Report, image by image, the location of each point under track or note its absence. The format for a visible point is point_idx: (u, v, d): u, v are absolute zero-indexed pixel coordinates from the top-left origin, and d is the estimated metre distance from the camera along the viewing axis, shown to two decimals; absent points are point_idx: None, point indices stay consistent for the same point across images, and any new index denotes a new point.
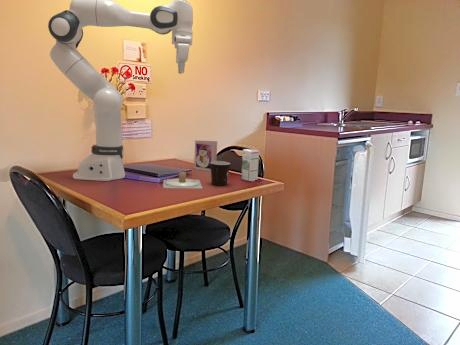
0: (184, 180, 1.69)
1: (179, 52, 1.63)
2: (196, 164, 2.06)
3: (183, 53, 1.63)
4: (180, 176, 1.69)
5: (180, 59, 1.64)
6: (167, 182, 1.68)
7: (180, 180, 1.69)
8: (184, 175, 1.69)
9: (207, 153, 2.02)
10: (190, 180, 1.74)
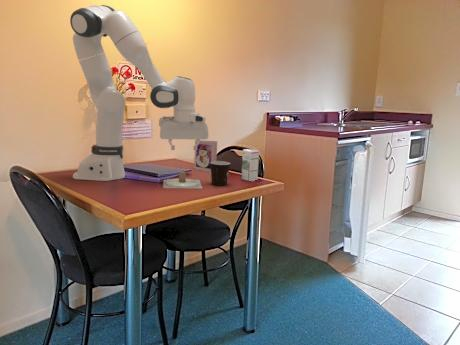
0: (184, 180, 1.69)
1: None
2: (196, 164, 2.06)
3: None
4: (180, 176, 1.69)
5: (207, 138, 1.67)
6: (167, 182, 1.68)
7: (180, 180, 1.69)
8: (184, 175, 1.69)
9: (207, 153, 2.02)
10: (190, 180, 1.74)
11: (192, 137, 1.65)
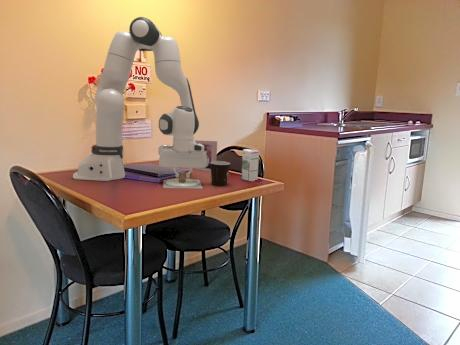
0: (184, 180, 1.69)
1: None
2: None
3: None
4: (180, 176, 1.69)
5: (205, 166, 1.70)
6: (167, 182, 1.68)
7: (180, 180, 1.69)
8: (184, 175, 1.69)
9: (207, 153, 2.02)
10: (190, 180, 1.74)
11: (190, 166, 1.68)
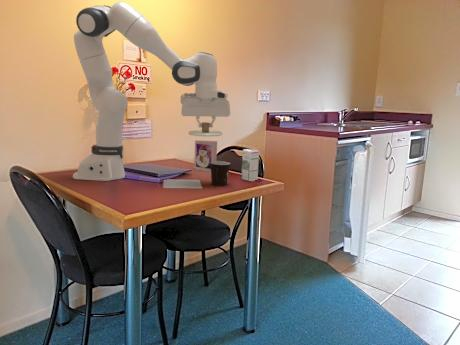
0: (207, 130, 1.65)
1: (229, 108, 1.64)
2: (196, 164, 2.06)
3: None
4: (203, 126, 1.65)
5: None
6: (190, 132, 1.64)
7: (203, 130, 1.65)
8: (207, 125, 1.65)
9: (207, 153, 2.02)
10: (213, 131, 1.70)
11: (214, 114, 1.63)
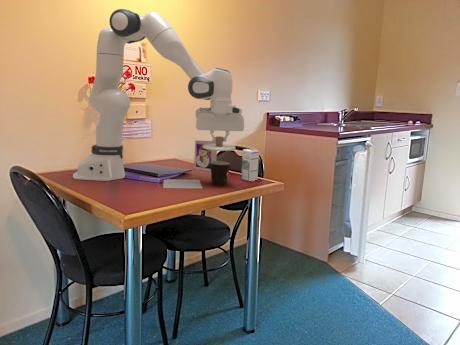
0: (221, 144, 1.68)
1: (243, 123, 1.67)
2: (196, 164, 2.06)
3: None
4: (217, 140, 1.67)
5: (242, 130, 1.68)
6: (204, 146, 1.66)
7: (217, 144, 1.68)
8: (221, 139, 1.67)
9: (207, 153, 2.02)
10: (226, 145, 1.72)
11: (228, 129, 1.66)
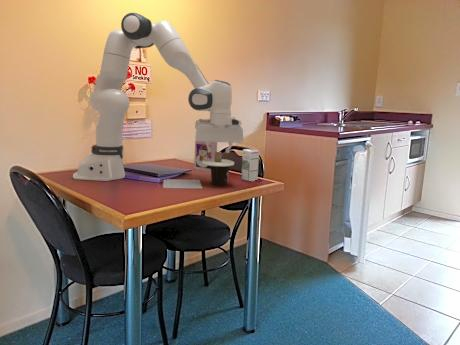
0: (220, 160, 1.69)
1: None
2: (196, 164, 2.06)
3: None
4: (216, 155, 1.68)
5: None
6: (203, 161, 1.68)
7: (216, 160, 1.69)
8: (220, 154, 1.69)
9: (207, 153, 2.02)
10: (225, 160, 1.74)
11: (227, 140, 1.67)
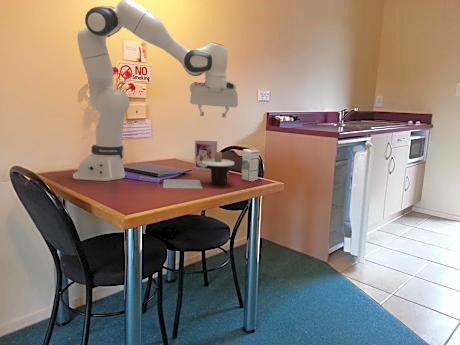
0: (220, 160, 1.69)
1: (237, 100, 1.68)
2: (196, 164, 2.06)
3: None
4: (216, 155, 1.68)
5: (236, 106, 1.69)
6: (203, 161, 1.68)
7: (216, 160, 1.69)
8: (220, 154, 1.69)
9: (207, 153, 2.02)
10: (225, 160, 1.74)
11: (222, 104, 1.67)
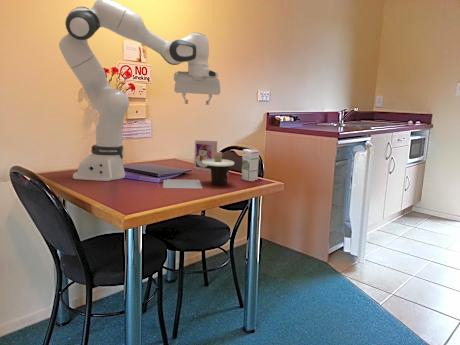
0: (220, 160, 1.69)
1: None
2: (196, 164, 2.06)
3: None
4: (216, 155, 1.68)
5: (219, 93, 1.76)
6: (203, 161, 1.68)
7: (216, 159, 1.69)
8: (220, 154, 1.69)
9: (207, 153, 2.02)
10: (225, 160, 1.74)
11: (205, 92, 1.74)
